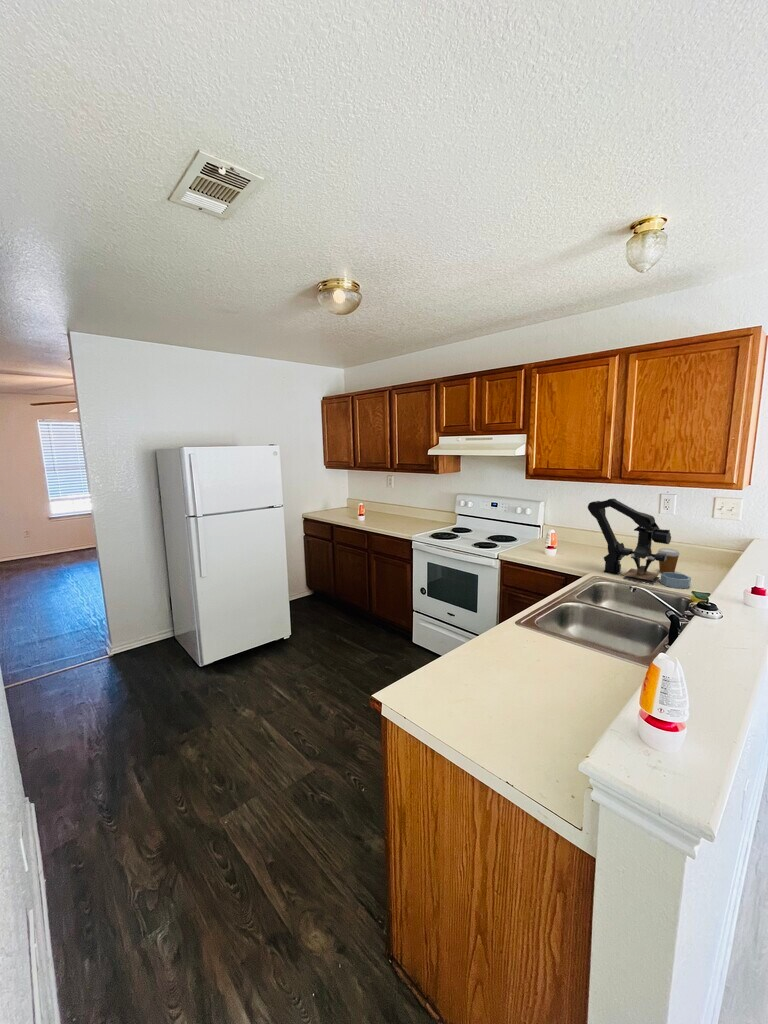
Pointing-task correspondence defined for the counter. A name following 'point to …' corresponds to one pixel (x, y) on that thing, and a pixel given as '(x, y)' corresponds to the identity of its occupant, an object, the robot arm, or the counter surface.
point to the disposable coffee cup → (668, 560)
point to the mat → (641, 579)
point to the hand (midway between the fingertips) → (641, 571)
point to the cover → (641, 573)
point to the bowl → (675, 580)
